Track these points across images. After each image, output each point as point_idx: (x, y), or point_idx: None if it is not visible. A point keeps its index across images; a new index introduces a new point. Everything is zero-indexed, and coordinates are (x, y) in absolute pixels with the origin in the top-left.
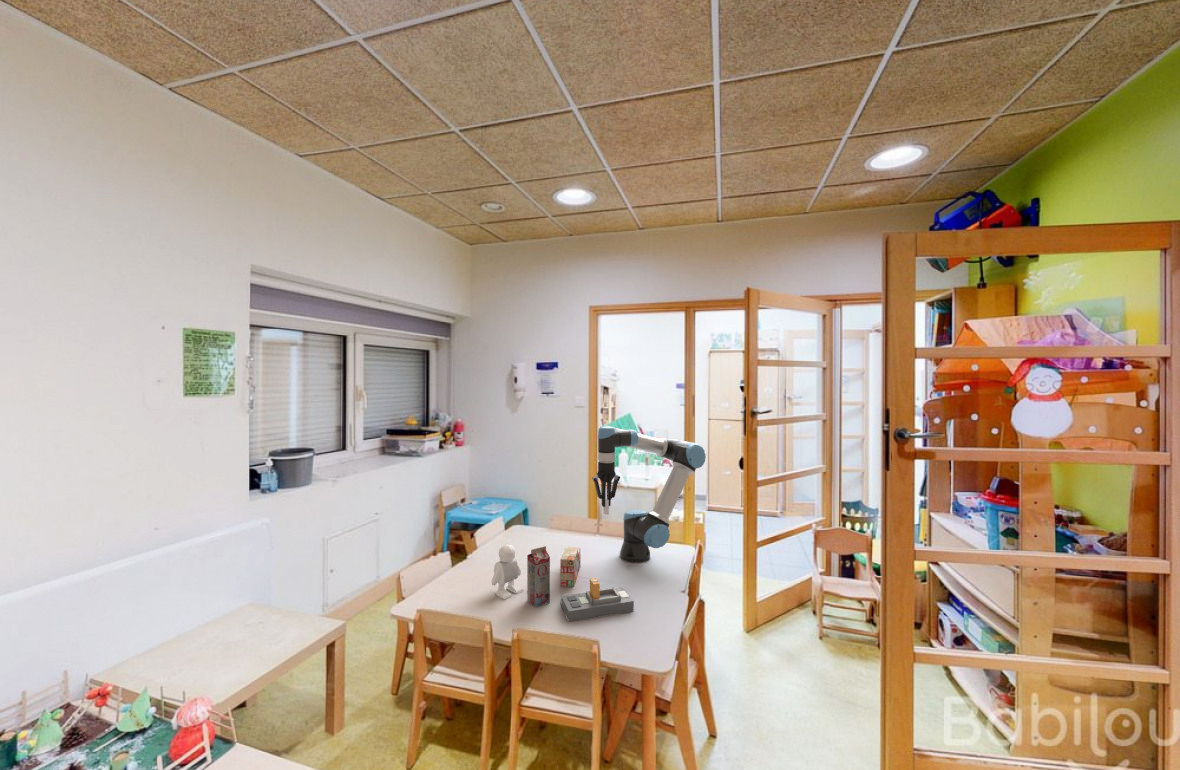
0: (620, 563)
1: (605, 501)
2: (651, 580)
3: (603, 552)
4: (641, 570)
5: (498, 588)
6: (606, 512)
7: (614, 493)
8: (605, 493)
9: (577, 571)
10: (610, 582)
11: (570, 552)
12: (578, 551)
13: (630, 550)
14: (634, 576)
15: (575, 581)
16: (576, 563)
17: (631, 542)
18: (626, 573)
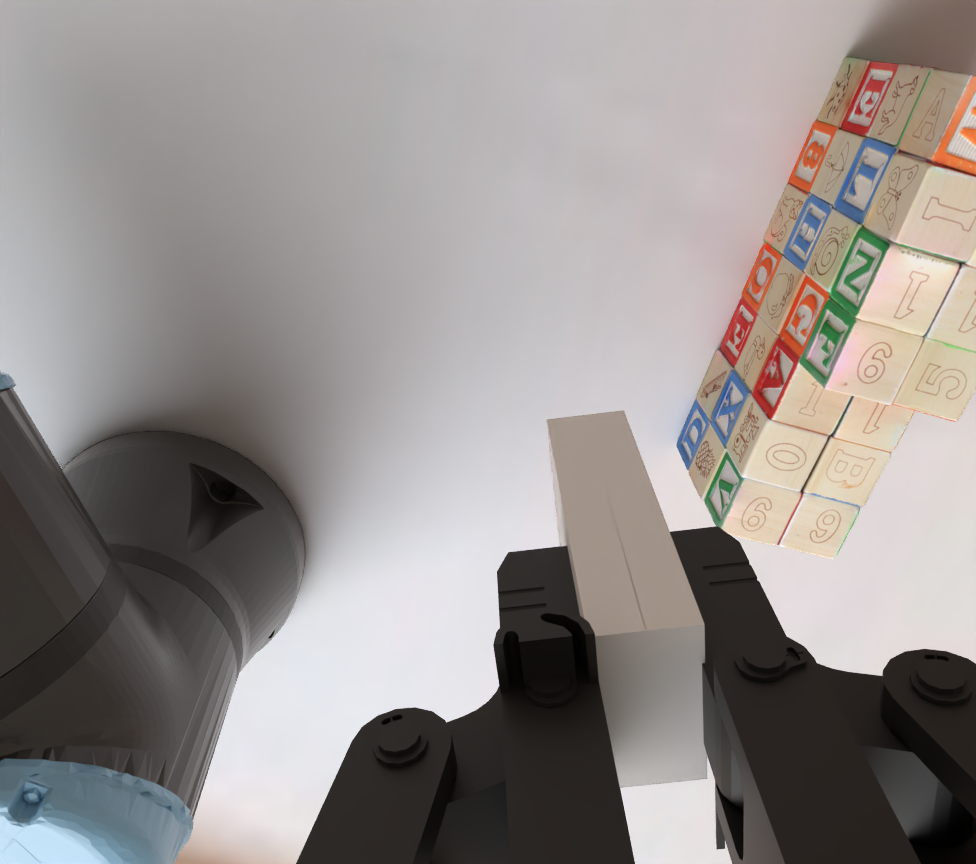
0: (325, 445)
1: (693, 600)
2: (89, 62)
3: (428, 650)
4: (157, 285)
5: None
6: (605, 434)
7: (350, 841)
8: (778, 823)
9: (761, 286)
10: (491, 90)
11: (942, 294)
12: (766, 442)
13: (205, 525)
14: (242, 175)
15: (811, 143)
16: (845, 219)
17: (174, 566)
18: (306, 248)
